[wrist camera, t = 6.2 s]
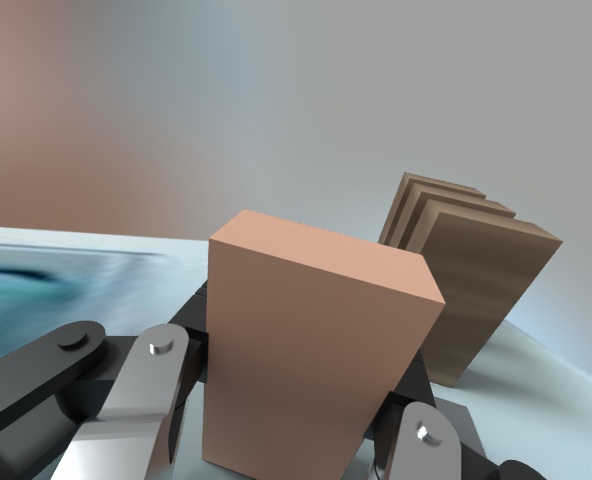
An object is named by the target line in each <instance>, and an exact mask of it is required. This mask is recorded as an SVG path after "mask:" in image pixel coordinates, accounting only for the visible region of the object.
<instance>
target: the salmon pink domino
mask: <svg viewBox="0 0 592 480" xmlns="http://www.w3.org/2000/svg"><path fill="white" fill-rule="evenodd" d="M445 304H446V303H445V301H444V299H443V297H442V295H441V293H440V291H439V289H438V287H437V284H436V282H435V280H434V278H433V276H432V274H431V272H430V270H429V268H428V266H427V264H426V262H425V260H424V258H423V256H422V255H420V254H416V253H412V252H408V251H404V250H400V249H397V248H393V247H389V246H385V245H381V244H377V243H374V242H369V241H366V240H362V239H358V238H354V237H350V236H346V235H343V234H339V233H335V232H331V231H327V230H324V229H320V228H316V227H312V226H308V225H304V224H301V223H297V222H293V221H289V220H285V219H281V218H278V217H274V216H270V215H266V214H262V213H259V212H255V211H251V210H247V209H244V210H243V211H241V212H240V213H239V214H238V215H237V216H235V217H234V218H233V219H232V220H230V221H229V222H228V223H227V224H225V225H224V226H223V227H222V228H221V229H219V230H218V231H217V232H216V233H215V234H213V235H212V236H211V237H210V238H209V251H208V282H207V313H206V332H208V333H209V346H208V371H207V384H205V383H204V406H203V437H202V459H203V460H206V461H209V462H211V463H214V464H217V465H219V466H222V467H225V468H227V469H230V470H233V471H235V472H238V473H241V474H243V475H246V476H249V477H252V478H254V479H257V480H340V479H341V477H342V476H343V474H344V472H345V471H346V469H347V467H348V466H349V464H350V462H351V461H352V459H353V457H354V456H355V454H356V452H357V451H358V449H359V447H360V446H361V444H362V442H363V441H364V439H365V438H364V437H363V435H364V433H365V432H366V430H367V428H368V426H369V425H370V423H371V421H372V420H373V418H374V416H375V415H376V413H377V411H378V409H379V408H380V406H381V404H382V403H383V401H384V399H385V398H386V396H387V394H388V393H389V391H394V389H395V388H396V386H397V384H398V383H399V381H400V379H401V378H402V376H403V374H404V373H405V371H406V369H407V368H408V366H409V364H410V363H411V361H412V359H413V358H414V356H415V354H416V353H417V351H418V349H419V348H420V346H421V344H422V343H423V341H424V339H425V338H426V336H427V334H428V333H429V331H430V329H431V328H432V326H433V324H434V323H435V321H436V319H437V318H438V316H439V314H440V313H441V311H442V309H443V308H444V306H445Z"/></svg>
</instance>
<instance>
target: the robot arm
mask: <svg viewBox="0 0 592 480" xmlns="http://www.w3.org/2000/svg"><path fill="white" fill-rule="evenodd" d="M207 282H208V279H207V280H206V281H205V283H204V284H203V285H202V286H201V288H199V289H198V290H197V291H196V292H195V295H193V296H192V297H191V298H190V299H189V300H188V301H187V302H186V303H185V305H184V306H183V307H182V308H181V309H180V310H179V311H178V312H177V313H176V314H175V316H174V317H173V318H172V319H171V320H170V321H169V322H168V323H167V324H160V325H156V326H154V327H151V328H149V329H147V330H146V331H144V332H143V333H142V334H140V335H139V336H106V333H105V329H104V327H103V326H102V325H101V324H99V323H97V322H94V321H78V322H73V323H69V324H66V325H64V326H61V327H59V328H57V329H55V330H53V331H51V332H50V333H48V334H46V335H44V336H42V337H40V338H38V339H36V340H34V341H33V342H31V343H29V344H27V345H25V346H23V347H21V348H19V349H17V350H16V351H14V352H12V353H10V354H8V355H6V356H4V357H2V358H0V431H1V432H0V480H32V479H33V478H34V477H35V476H36V475H37V474H38V473H40V472H41V471H42V470H43V469H44V468H45V467H46V466H48V465H49V464H50V463H51V462H52V461H53V460H54V459H56V458H57V457H58V456H59V455H60V454H61V453H62V452H64V451H65V450H66V449H67V450H66V452H65V454H64V456H63V458H62V460H61V462H60V463H59V465H58V467H57V469H56V471H55V473H54V475H53V477H52V478H51V480H172V476H173V470H174V465H175V460H176V456H177V451H178V446H179V442H180V437H181V433H182V428H183V424H184V419H185V415H186V410H187V405H188V401H189V394H190V392H191V390H192V389H193V387H194V385H195V384H196V382H197V381H199V382H202V383H205V384H207V371H208V346H209V333H208V332H206V313H207ZM420 352H421V350H420V348H419V349H418V351H417V353H416V354H415V356H414V358H413V359H412V361H411V363H410V364H409V366H408V368H407V369H406V371H405V373H404V374H403V376H402V378H401V379H400V381H399V383H398V384H397V386H396V388H395V389H394V391H389V393H388V394H387V396H386V398H385V399H384V401H383V403H382V404H381V406H380V408H379V409H378V411H377V413H376V415H375V416H374V418H373V420H372V421H371V423H370V425H369V426H368V428H367V430H366V432H365V433H364V435H363V437H364V438H367V439H370V440H372V441H374V450H375V454H374V455H373V457H372V458H371V461H370V464H369V467H368V470H367V474H366V477H365V480H546V479H545V478H544V477H543V476H542V475H541V474H539V473H538V472H537V471H535V470H534V469H533V468H531V467H530V466H528V465H526V464H524V463H522V462H519V461H516V460H507V461H504V462H503V463H502V464H501V465H500V466H497V465H496V464H494V463H493V462H491V461H490V460H488V459H486V458H485V457H483V456H482V455H480V454H479V453H477V452H476V451H474V450H472V449H471V448H469V447H468V446H466V445H465V444H464V443H462V442H461V441H460V440H459V437H458V435H457V433H456V431H455V429H454V427H453V426H452V424H451V423H450V422H449V421H448V419H447V418H446V417H445V416H444V415H443V414H442V413H441V412H439V411H438V410H437V407H436V404H435V400H434V397H433V393H432V390H431V386H430V382H429V379H428V375H427V372H426V368H425V365H424V364H423V363H424V361H423V357H422V354H421V353H420ZM50 396H51V397H50ZM47 398H48V399H47ZM46 399H47V400H46ZM43 401H44V402H43ZM40 403H41V404H40ZM37 405H38V406H37ZM36 406H37V407H36ZM33 408H34V409H33ZM30 410H31V411H30ZM27 412H28V413H27ZM26 413H27V414H26ZM23 415H24V416H23ZM20 417H21V418H20ZM17 419H18V420H17ZM16 420H17V421H16ZM13 422H14V423H13ZM10 424H11V425H10ZM7 426H8V427H7ZM6 427H7V428H6ZM3 429H4V430H3Z"/></svg>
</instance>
